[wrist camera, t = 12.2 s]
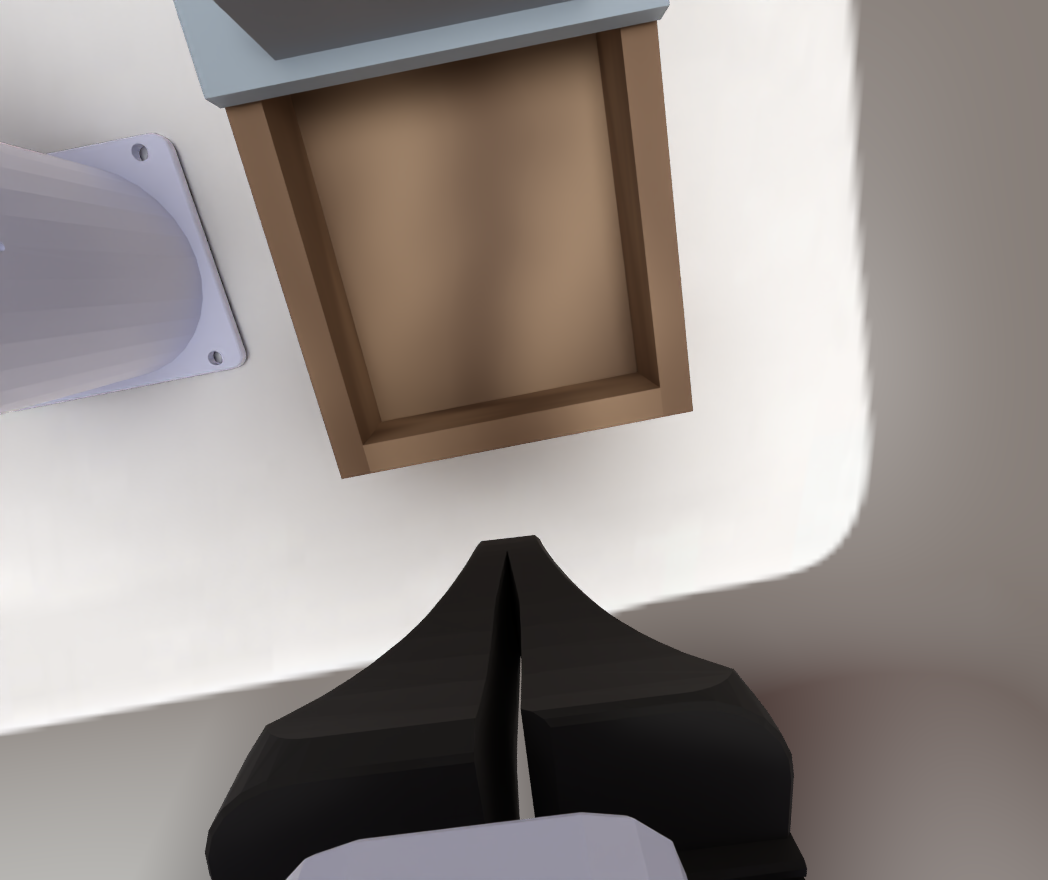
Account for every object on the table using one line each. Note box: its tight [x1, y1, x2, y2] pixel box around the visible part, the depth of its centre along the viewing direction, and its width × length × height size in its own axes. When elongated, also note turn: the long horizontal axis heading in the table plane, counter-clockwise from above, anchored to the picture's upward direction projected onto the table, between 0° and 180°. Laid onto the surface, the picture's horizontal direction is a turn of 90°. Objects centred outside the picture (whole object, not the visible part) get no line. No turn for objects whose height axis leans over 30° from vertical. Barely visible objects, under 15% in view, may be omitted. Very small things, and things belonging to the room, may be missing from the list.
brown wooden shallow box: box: [225, 20, 693, 479], centre depth 17 cm, size 12×16×4 cm
